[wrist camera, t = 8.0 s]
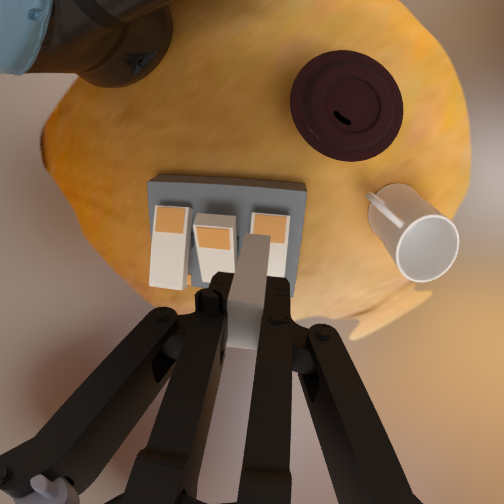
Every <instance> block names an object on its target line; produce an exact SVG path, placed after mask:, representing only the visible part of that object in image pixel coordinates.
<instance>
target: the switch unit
mask: <svg viewBox="0 0 504 504" xmlns="http://www.w3.org/2000/svg"><path fill="white" fill-rule="evenodd" d="M147 188H148V205H149V219H150V231H151V242H152V234H153V223H154V212H155V205H157V206H175V207H189V208H192V209H193V215H192V226H191V237H190V249H189V262H188V275H187V286H192V287H201V288H208V287H209V284H210V283H208V282H202V277H201V271H200V265H199V260H198V254H197V248H196V242H195V235H194V229H193V223H194V220H195V218H196V215H197V213H204V214H218V215H231V216H236V236H237V263H238V259H239V255H240V252H241V248H242V244H243V241H244V237H245V234H246V233H250V228H251V217H252V212H253V213H264V214H275V215H286V216H290V225H289V236H288V246H287V256H286V266H285V276H284V278H287V280H288V281H289V283H290V297H293V295H294V289H295V282H296V275H297V268H298V261H299V253H300V246H301V238H302V231H303V223H304V214H305V206H306V197H307V189H306V185H305V184H303V183H293V182H282V181H271V180H258V179H245V178H229V177H211V176H189V175H157V176H156V177H154V178H152V179H151V180H149V181H147Z"/></svg>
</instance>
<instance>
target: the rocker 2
mask: <svg viewBox="0 0 504 504" xmlns="http://www.w3.org/2000/svg"><path fill="white" fill-rule="evenodd" d="M193 229H194V235H195V242H196V248H197V254H198V260H199V265H200V271H201V277H202V282H208V283H210V282H211V279H212V276H213V275H215V274H216V273H217V272H218V271H220V272H229V273H235V270H236V266H237V236H236V216H231V215H218V214H204V213H197V215H196V218H195V220H194V223H193Z"/></svg>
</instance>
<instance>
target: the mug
mask: <svg viewBox="0 0 504 504" xmlns="http://www.w3.org/2000/svg"><path fill="white" fill-rule="evenodd" d="M366 198H367V199H368V200H369V201H370V205H369V209H368V220H369V224H370V227H371V228H372V230H373V232H374V233H375V234H376V235H377V236H378V237H379V238H380V239H381V241H382V243H383V244H384V246H385V247H386V249H387V251H388V252H389V254H390V255H391V257H392V259H393V260H394V262H395V264H396V265H397V267H398V269H399V270H400V272H401V273H402V274H403V275H404V276H405V277H406V278H408V279H409V280H411V281H415V282H427V281H431V280H434V279H436V278H438V277H440V276H441V275H442V274H444V273H445V272H446V271H447V270H448V269H449V268H450V267H451V265H452V264H453V262H454V260H455V258H456V256H457V253H458V249H459V235H458V231H457V229H456V227H455V225H454V224H453V223H452V221H451V220H449V219H448V218H447V217H446V216H445V215H443V214H442V213H441V212H440V211H438V210H437V209H436V208H435V207H433V206H432V205H431V204H430V203H428V202H427V201H426V200H425V199H423V198H422V197H421V196H419V194H418V193H417V192H416V191H415V190H414V189H413V188H412V187H410V186H408V185H405V184H401V183H395V184H390V185H387V186H385V187H383V188H382V189H380V190H379V191H378V192H377V193H376V194H374V193H372V192H370V191H369V192H367V194H366Z"/></svg>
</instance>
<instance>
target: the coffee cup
mask: <svg viewBox="0 0 504 504" xmlns="http://www.w3.org/2000/svg"><path fill="white" fill-rule="evenodd" d="M290 108H291V114H292V118H293V121H294V123H295V125H296V127H297V129H298V131H299V133H300V134H301V135H302V137H303V138H304V139H305V141H306V142H307V143H308V144H309V145H310V146H312V147H313V148H314V149H315V150H317V151H318V152H320V153H321V154H323V155H325V156H327V157H330V158H333V159H336V160H340V161H348V162H355V161H362V160H367V159H370V158H372V157H375V156H376V155H378V154H380V153H381V152H383V151H384V150H385V149H387V148H388V147H389V146H390V145H391V144H392V142H393V141H394V139H395V138H396V136H397V134H398V132H399V130H400V127H401V124H402V119H403V101H402V96H401V93H400V90H399V88H398V85H397V84H396V82H395V80H394V78H393V77H392V76H391V74H390V73H389V72H388V71H387V70H386V69H385V68H384V67H383V66H382V65H381V64H380V63H379V62H377V61H376V60H374V59H372V58H371V57H369V56H367V55H364V54H361V53H358V52H354V51H347V50H338V51H331V52H327V53H324V54H321V55H319V56H317V57H315V58H313V59H312V60H311V61H309V62H308V63H307V64H306V65H305V66H304V67H303V68H302V69H301V71H300V72H299V73H298V75H297V77H296V79H295V81H294V83H293V86H292V90H291V96H290Z"/></svg>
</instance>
